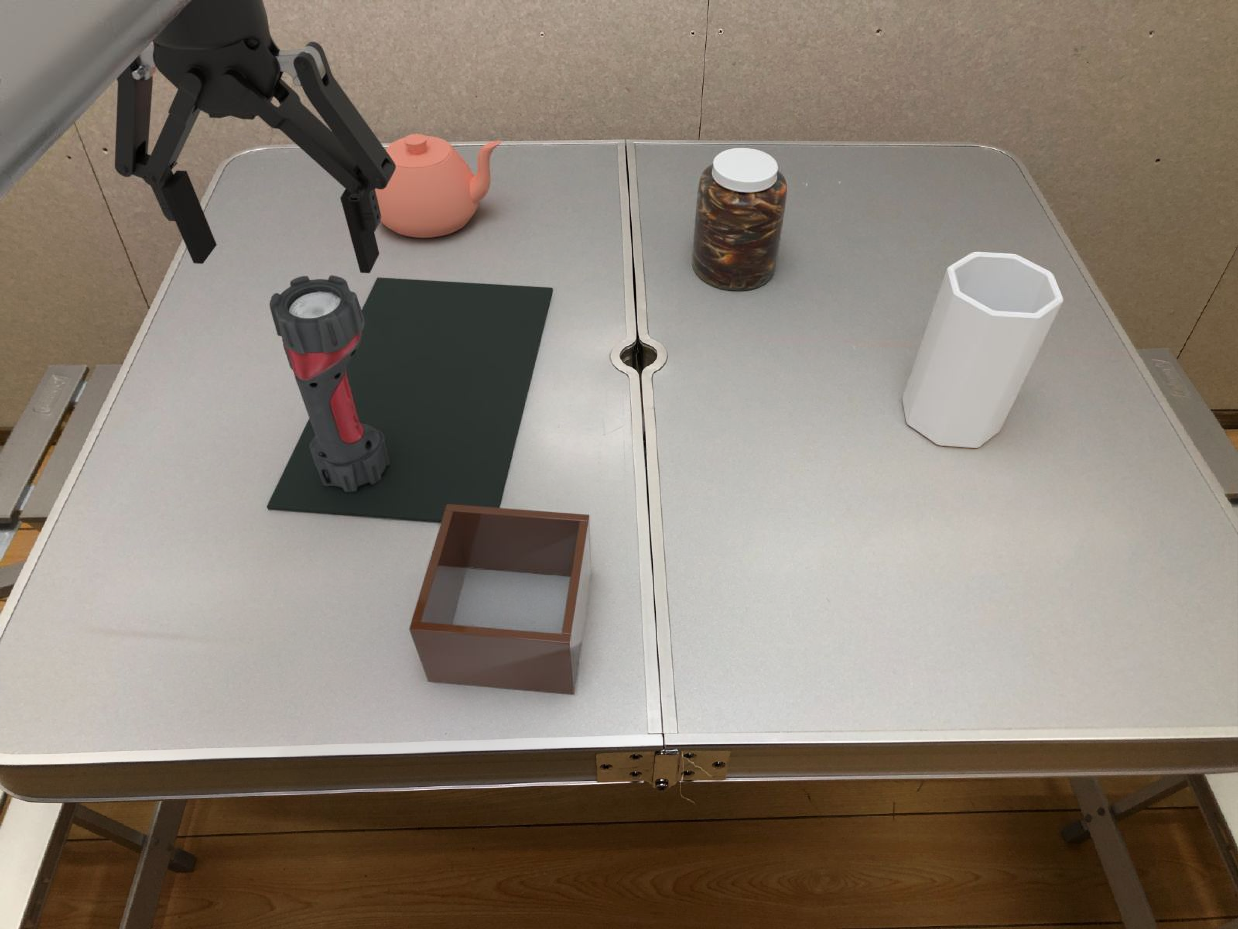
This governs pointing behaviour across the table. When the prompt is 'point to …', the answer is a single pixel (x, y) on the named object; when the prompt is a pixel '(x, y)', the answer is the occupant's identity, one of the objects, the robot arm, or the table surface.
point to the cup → (979, 347)
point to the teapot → (432, 187)
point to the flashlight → (329, 377)
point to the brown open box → (505, 547)
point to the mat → (432, 398)
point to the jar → (739, 220)
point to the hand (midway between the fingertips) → (287, 259)
